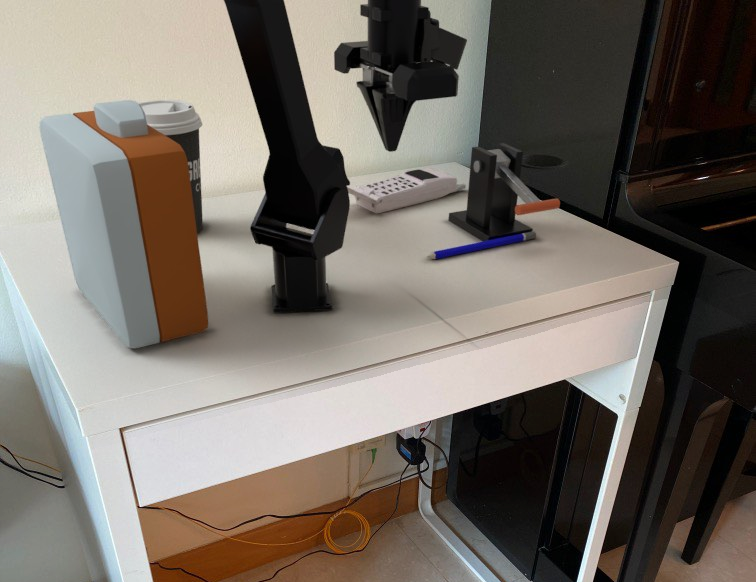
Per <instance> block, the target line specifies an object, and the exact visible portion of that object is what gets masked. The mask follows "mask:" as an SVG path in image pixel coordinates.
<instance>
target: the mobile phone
mask: <svg viewBox="0 0 756 582" xmlns="http://www.w3.org/2000/svg"><path fill="white" fill-rule="evenodd" d="M457 183H458V179H457V176H456V177H455V176H454V175H451V174H449V173H446V172H444V171H441V170H439V169H435V168H417V169H412V170H406V171H403V172H402V173H401V174H400V175H396V176H393V177H389V178H385V179H381V180H378V181H374V182H370V183H367V184H363V185H360V186H357V185H356V186H355V187H354V188H353V189H352V188H351V187H349V186H347V189H348V193H349V195H352V196H354V200H355V203H356V205H357V206H359V207H362V208H363V209H366V210H368V211H369V212H372V213H373V214H382V213H385V212H389V211H393V210H398V209H402V208H406V207H410V206H414V205H418V204H422V203H426V202H431V201H434V200H437V199H441V198H444V197H445V196H447V195H450V194H452V193H455V192H458V191H462V190H464V189H466V188H467V187H466V186H467V185H466V184H465V183H464V182H463V183H459V184H457Z"/></svg>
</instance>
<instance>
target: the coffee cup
mask: <svg viewBox="0 0 756 582" xmlns="http://www.w3.org/2000/svg"><path fill="white" fill-rule="evenodd" d="M137 103H138V104H139V105H140V106H141V107H142V108H143V110H144V112H145V116H146V121H147V125H149V126H151V127H152V128H154V129H155V130H157V131H159V132H160V133H162V134H164V135H165V136H167V137H169V138H170V139H172V140H173V141H175V142H176V143H178V144H180V146H181V147H182V149H183V150H184V152H185V154H186V158H187V161H188V168H189V175H190V183H191V190H192V198H193V205H194V213H195V221H196V228H197V235H198V234H199V233H201V232H202V231H203V229H204V222H203V199H202V198H203V197H202V177H201V176H202V175H201V174H202V173H201V172H202V171H201V149H200V129H201V128H202V126H203V122H202V119H201V117H200V115H199V113H198V112H196V110H195V107H194V106H195V105H194V104H192V102H188V101H185V100H180V99H152V100H151V99H150V100H144V101H138V102H137Z"/></svg>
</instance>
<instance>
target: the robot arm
mask: <svg viewBox="0 0 756 582" xmlns="http://www.w3.org/2000/svg"><path fill="white" fill-rule="evenodd" d="M223 2H224V5H225V8H226V11H227V14H228V17H229V21H230V24H231V27H232V28H231V29H232V30H233V34H234V38H235V41H236V45H237V49H238V51H239V55H240V58H241V61H242V64H243V67H244V71H245V74H246V78H247V81H248V84H249V88H250V92H251V94H252V95H251V96H252V98H253V101H254V104H255V108H256V111H257V115H258V118H259V121H260V125H261V128H262V132H263V134H264V138H265V141H266V143H267V144H266V145H267V148H268V152H269V155H268V159H267V161H266V162H267V163H266V164H265V168H264V173H263V175H262V181H263V186H264V192H265V193H264V195H263V197H262V199H261V202H260V204H259V206H258V209H257V211H256V213H255V215H254V218H253V220H252V222H251V224H250V228H249V230H250V233H251V235H252V238H253V241H254V244H255V245H260V246H261V245H263V246H265V247H266V246H267V247H270V248H271V249H272V250H271V251H272V262H273V263H272V264H273V276H274V277H273V278H274V284H271V301H272V311H273V312H274V313H288V312H289V313H291V312H311V311H312V312H313V311H314V312H315V311H330V310H333V301H332V296H331V292H330V288H329V287H330V286H329V283H328V282H327V264H326V263H327V262H326V258H327V256H330V255H332V254H334V253H335V252H337V251H339V250H341V249H342V248H343V247H344V240H345V236H346V235H345V234H346V229H347V224H348V219H349V213H350V205H351V200H350V193H348V189H347V187H349V186H350V185H351V181H350V179H349V178H348V175H347V172H346V167H345V157H344V155H343V153H342V151H341V149H340V148H338V147H333V146H328V145H323V144H322V143H321V142H320V141H319V139H318V136H317V132H316V131H317V130H316V127H315V123H314V119H313V114H312V110H311V106H310V102H309V98H308V94H307V90H306V86H305V81H304V77H303V73H302V70H301V65H300V61H299V57H298V53H297V49H296V44H295V41H294V36H293V32H292V29H291V23H290V20H289V16H288V11H287V8H286V4H285V0H223ZM429 8H430V7H428V6H424V5H422V0H367V3H365V4H363V3H362V4H361V3H360V8H359V12H360V16H361V17H364V18H367V40H362V41H361V40H360V41H349V42H348V41H347V42H340V44H339V45H338V46H337V48H336V49H335V50H334V51H333V63H334V64H333V65H334V71H337V72H338V73H341V74H344V75H345V74H349V72H350V71H351V69H362V80H358V81H356V84H355V85H356V87H357V88H358V89H359V90H360V93H361V95H362V97H363V99H364V102H365V104H366V106H367V108H368V110H369V113H370V115H371V118H372V120H373V123H374V125H375V127H376V129H377V132H378V135H379V138H380V139H381V142H382V144H383V147H384V149H385V151H387V152H389V153H392V152H396V151H397V150H398V147H399V144H400V142H401V138H402V135H403V132H404V130H405V126H406V123H407V120H408V117H409V114H410V112H411V109H412V107H413V105H414V104H415V103H416V102H417V101H418V102H419V101H428V100H437V99H447V98H454V97H455V98H456V97H458V94H459V93H458V91H459V80H460V75H459V74H458V72H457V71H456V70H458V69H459V66H460V64H461V60H462V58H463V54H464V51H465V48H466V46H467V42H468V39H467V38H465V37H462V36H460V35H458V34H456V33H453V32H451V31H449V30H447V29H444V28H441V27H440V21H439V19H436V18H433V17H431V16H432V15H431V14H432V13H431V11H430V9H429ZM287 225H292V226H296V227H299V228H303V229H308V230H311V231H313V233H310V232H306V231H302V230H298V229H295V228H290V227H287Z"/></svg>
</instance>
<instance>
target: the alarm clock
mask: <svg viewBox="0 0 756 582" xmlns="http://www.w3.org/2000/svg"><path fill="white" fill-rule="evenodd" d="M39 133H40V138H41V142H42V146H43V151H44V155H45V159H46V164H47V168H48V172H49V176H50V180H51V185H52V189H53V193H54V197H55V201H56V206H57V209H58V214H59V218H60V222H61V226H62V231H63V235H64V239H65V244H66V247H67V253H68V256H69V261H70V265H71V269H72V272H73V277H74V280H75V281H74V282H75V284H76V286H77V288H78V290H79V291H80V292H81V294H82V295H83V297H85V299H86V300H87V301H88V302H89V303H90V305H91V306H92V307H93V308H94V309H95V311H97V313H98V314H99V315H100V317H101V318H102V319H103V320H104V321H105V323H106V324H107V325H108V326H109V327H110V329H111V330H112V331H113V333H115V334H116V336H117V338H119V339H120V340H121V342H122V343H123V344H124V345H125V346H126V348H130V349H139V348H144V347H146V346H147V347H148V346H151V345H154V344H160V343H162V342H163V343H164V342H166V341H171V340H175V339H179V338H182V337H186V336H192V335H194V334H199V333H203V332H205V331H206V330H207V329H209V314H208V313H209V312H208V305H207V298H206V290H205V283H204V282H205V281H204V275H203V267H202V259H201V253H200V244H199V239H198V234H197V228H196V221H195V213H194V205H193V198H192V190H191V183H190V175H189V168H188V161H187V158H186V154H185V152H184V150H183V149H182V147H181V146H180V144H178V143H176V142H175V141H173V140H172V139H170V138H169V137H167V136H165V135H164V134H162V133H160V132H159V131H157V130H155V129H154V128H152V127H151V126H149V125H147V121H146V116H145V112H144V110H143V108H142V107H141V106H140V105H139V104H138V102H137V101H136V100H132V99H126V100H125V99H124V100H123V99H122V100H114V101H106V102H96V103H94V105H93V110H88V111H80V112H79V111H78V112H73V113H70V112H69V113H61V114H53V115H46V116H44V117H43V118H41V119H40V121H39Z"/></svg>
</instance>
